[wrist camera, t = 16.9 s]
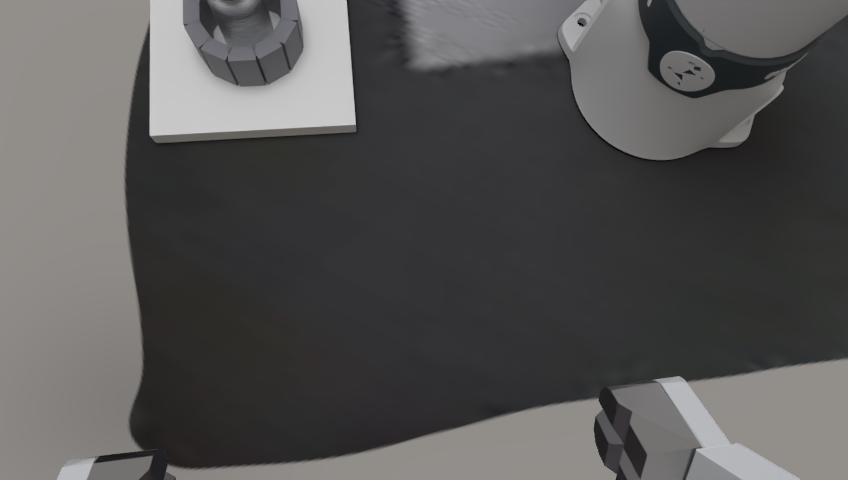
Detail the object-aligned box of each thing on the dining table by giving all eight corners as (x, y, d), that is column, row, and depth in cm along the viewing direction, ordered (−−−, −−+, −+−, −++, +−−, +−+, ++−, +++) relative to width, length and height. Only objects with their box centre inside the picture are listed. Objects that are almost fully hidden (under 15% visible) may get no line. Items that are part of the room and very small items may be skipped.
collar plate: (156, -32, 50) (130, -80, 45) (343, -37, 52) (340, -84, 46) (156, 143, 47) (128, 114, 42) (356, 132, 49) (354, 102, 43)
